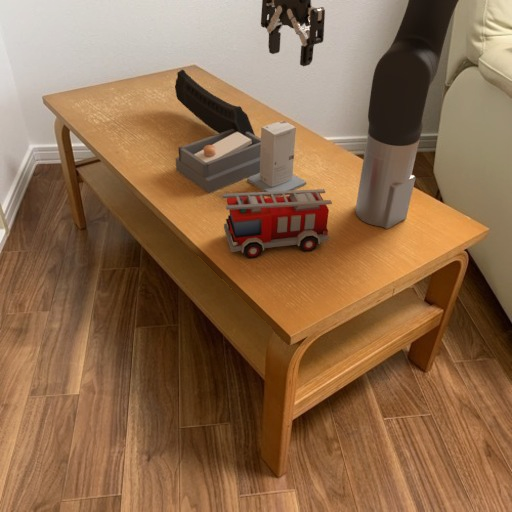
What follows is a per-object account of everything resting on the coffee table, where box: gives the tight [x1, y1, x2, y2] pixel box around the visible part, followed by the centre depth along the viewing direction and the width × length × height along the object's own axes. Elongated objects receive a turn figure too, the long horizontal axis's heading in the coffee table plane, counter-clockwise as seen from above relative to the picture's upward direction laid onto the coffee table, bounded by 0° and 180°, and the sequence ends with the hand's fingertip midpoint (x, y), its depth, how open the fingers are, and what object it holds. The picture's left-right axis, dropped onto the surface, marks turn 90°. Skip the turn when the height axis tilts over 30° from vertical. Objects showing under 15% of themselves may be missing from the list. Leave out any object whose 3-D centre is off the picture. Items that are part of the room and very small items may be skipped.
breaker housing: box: [174, 129, 261, 194], centre depth 121 cm, size 17×12×6 cm
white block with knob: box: [194, 132, 252, 162], centre depth 119 cm, size 12×5×2 cm, turn 130°
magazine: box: [174, 69, 256, 136], centre depth 132 cm, size 17×3×30 cm
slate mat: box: [246, 173, 307, 197], centre depth 118 cm, size 9×9×1 cm
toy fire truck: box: [221, 188, 333, 259], centre depth 99 cm, size 9×19×10 cm, turn 102°
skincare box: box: [260, 120, 297, 187], centre depth 115 cm, size 6×4×12 cm
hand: (289, 58), depth 105 cm, fingers open, 8 cm apart
